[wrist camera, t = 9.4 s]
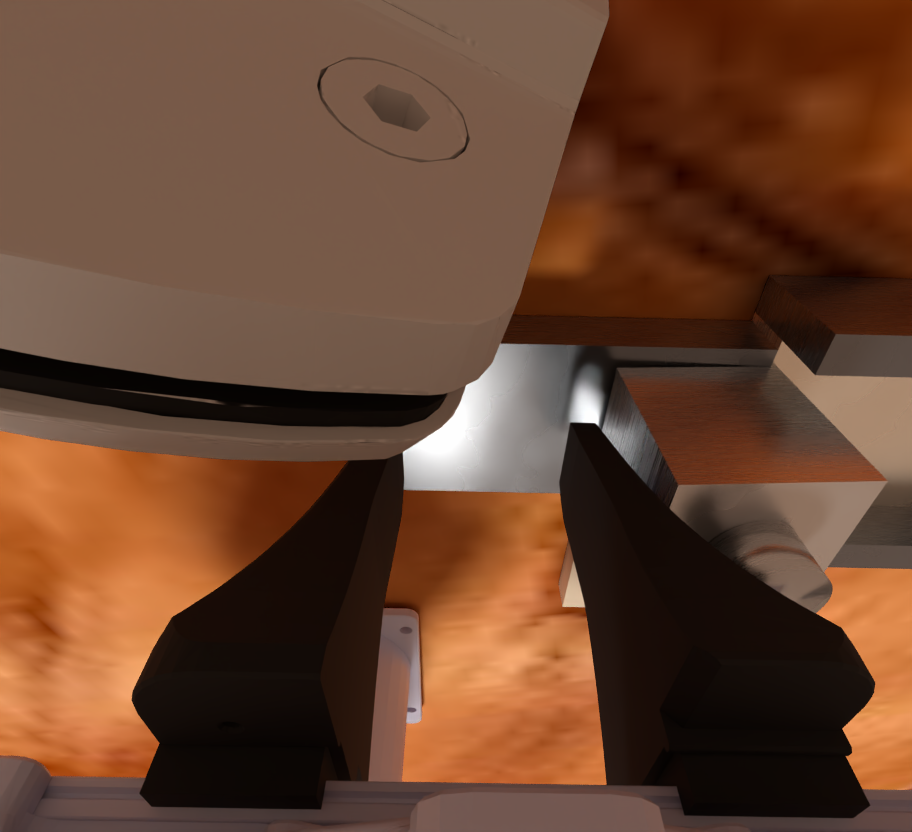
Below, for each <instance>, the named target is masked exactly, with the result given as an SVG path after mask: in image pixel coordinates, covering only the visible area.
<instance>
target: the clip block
mask: <svg viewBox="0 0 912 832" xmlns="http://www.w3.org/2000/svg"><path fill="white" fill-rule="evenodd" d="M602 432H603V433H604V434H605V435H606V437H607V438H608V439H609V440H610V442H611V443H612V444H613V446H614V447H615V448H616V449H617V451H618V452H619V453H620V454H621V455H622V457H623V458H624V459H625V460H626V462H627V463H628V464H629V465H630V466H631V467H632V469H633V470H634V471H635V472H636V473H637V474H638V475H639V477H640V478H641V479H642V480H643V481H644V482H645V483H646V484H647V486H648V487H649V488H650V489H651V490H652V491H653V492H654V493H655V494H656V495H657V496H658V497H659V498H660V499H661V500H662V501H663V502H664V503H665V504H666V505H667V506H668V507H669V508H670V509H671V510H672V511H673V512H674V513H675V514H676V515H677V516H678V517H679V518H680V519H681V520H683V521H684V522H685V523H686V524H687V525H688V526H689V527H691V528H692V529H693V530H694V531H695V532H696V533H698V534H699V535H700V536H701V537H702V538H703V539H705V540H706V541H707V542H708V543H710V544H711V545H712V546H713V547H715V548H716V549H717V550H719V551H720V552H721V553H723V554H724V555H725V556H727V557H728V558H729V559H731V560H732V561H733V562H735V563H736V564H738V565H739V566H740V567H742V568H743V569H745V570H746V571H747V572H749V573H750V574H752V575H753V576H755V577H756V578H758V579H759V580H761V581H762V582H764V583H765V584H767V585H769V586H770V587H772V588H773V589H775V590H776V591H778V592H780V593H781V594H783V595H784V596H786V597H788V598H789V599H791V600H793V601H794V602H796V603H798V604H800V605H801V606H803V607H805V608H807V609H809V610H810V611H812V612H814V613H816V612H818V611H819V610H820V609H821V608H822V607H823V606H824V605H825V604H826V603H827V602H828V600H829V599H830V597H831V594H832V584H831V582H830V580H829V579H828V578H827V576H826V575H825V573H824V572H825V570H826V569H827V567H828V566H829V564H830V563H831V562H832V560H833V559H834V557H835V556H836V554H837V553H838V552H839V550H840V549H841V547H842V546H843V544H844V543H845V542H846V540H847V539H848V537H849V536H850V534H851V533H852V532H853V530H854V529H855V527H856V526H857V524H858V523H859V522H860V520H861V519H862V517H863V516H864V514H865V513H866V512H867V510H868V509H869V507H870V506H871V504H872V503H873V502H874V500H875V499H876V497H877V496H878V494H879V493H880V492H881V490H882V489H883V487H884V486H885V484H886V483H887V482H888V481H887V480H886V479H885V477H884V476H883V475H882V474H881V473H880V472H879V471H878V470H877V469H876V468H875V467H874V466H873V465H872V464H871V463H870V462H869V461H868V460H867V459H866V458H865V457H864V456H863V455H862V454H861V453H860V452H859V451H858V450H857V449H856V448H855V446H854V445H853V444H852V443H851V442H850V441H849V440H848V439H847V438H846V437H845V436H844V435H843V434H842V433H841V432H840V431H839V430H838V429H837V428H836V427H835V426H834V425H833V424H832V423H831V422H830V421H829V420H828V419H827V418H826V417H825V415H824V414H823V413H822V412H821V411H820V410H819V409H818V408H817V407H816V406H815V405H814V404H813V403H812V402H811V401H810V400H809V399H808V398H807V397H806V396H805V395H804V394H803V393H802V392H801V391H800V390H799V389H798V388H797V387H796V385H795V384H794V383H793V382H792V381H791V380H790V379H789V378H788V377H787V376H786V375H785V374H784V373H783V372H782V371H781V370H780V369H779V368H778V367H656V368H617V369H616V373H615V377H614V382H613V386H612V390H611V394H610V399H609V403H608V407H607V411H606V416H605V420H604V424H603V428H602Z"/></svg>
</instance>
